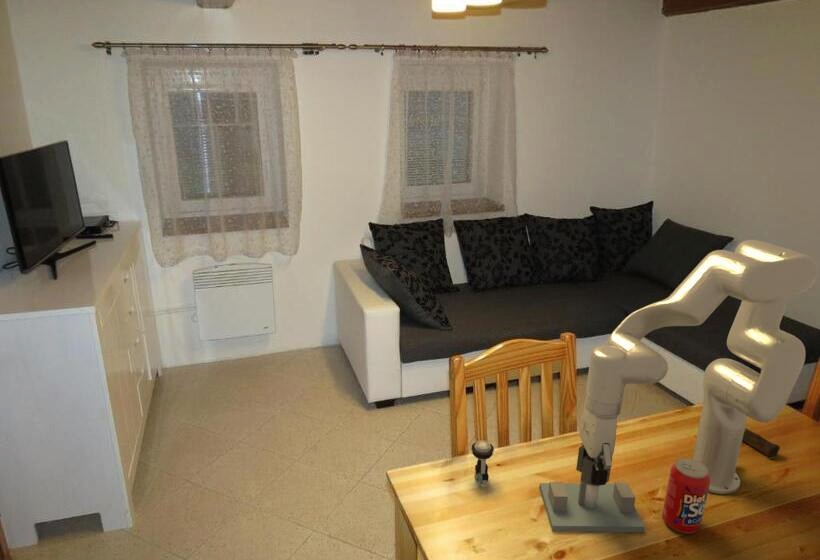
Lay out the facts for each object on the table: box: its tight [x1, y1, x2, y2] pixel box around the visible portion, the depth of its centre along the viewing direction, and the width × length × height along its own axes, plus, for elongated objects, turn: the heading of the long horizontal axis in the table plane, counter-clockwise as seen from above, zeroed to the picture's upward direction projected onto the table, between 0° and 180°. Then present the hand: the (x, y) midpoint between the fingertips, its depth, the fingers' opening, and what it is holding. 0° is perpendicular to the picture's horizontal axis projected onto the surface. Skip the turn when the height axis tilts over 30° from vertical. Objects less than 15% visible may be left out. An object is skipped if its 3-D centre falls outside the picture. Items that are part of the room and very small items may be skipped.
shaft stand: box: [539, 481, 646, 533], centre depth 133 cm, size 20×14×8 cm
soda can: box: [661, 457, 710, 534], centre depth 128 cm, size 8×8×15 cm
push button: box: [471, 439, 495, 489], centre depth 142 cm, size 7×5×10 cm
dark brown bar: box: [742, 427, 780, 459], centre depth 160 cm, size 19×4×5 cm, turn 22°
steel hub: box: [575, 444, 613, 486], centre depth 130 cm, size 7×7×6 cm
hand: (592, 471), depth 131 cm, fingers closed on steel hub, 7 cm apart
